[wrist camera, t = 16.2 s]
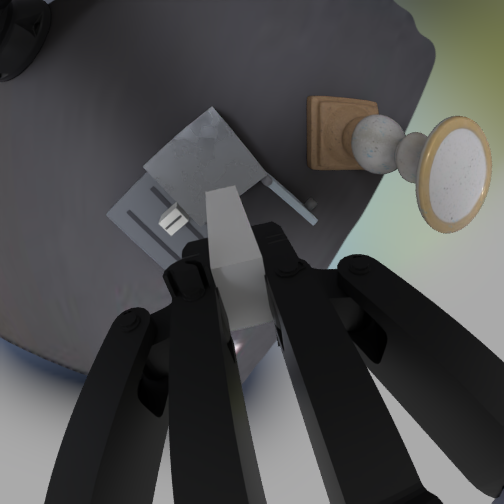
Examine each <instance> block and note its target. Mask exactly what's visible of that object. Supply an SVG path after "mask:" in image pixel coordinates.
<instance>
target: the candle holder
mask: <svg viewBox="0 0 504 504" xmlns="http://www.w3.org/2000/svg"><path fill="white" fill-rule="evenodd" d="M307 166H308V167H309V168H311V169H313V170H366V171H368V172H371V173H374V174H387V173H390V172H393V171H395V170H396V169H398V171H399V173H400V175H401V176H402V178H404V179H405V180H406V181H408V182H411V183H416V197H417V203H418V207H419V210H420V212H421V215H422V217H423V218H424V219H425V221H426V222H427V224H428V225H429V226H430V227H432V228H433V229H434V230H436V231H438V232H441V233H453V232H456V231H458V230H461V229H462V228H464V227H465V226H467V225H468V224H469V223H470V222H471V221H472V220H473V219H474V217H475V216H476V215H477V213H478V212H479V210H480V209H481V207H482V205H483V203H484V201H485V198H486V196H487V193H488V190H489V186H490V181H491V174H492V157H491V151H490V147H489V143H488V141H487V138H486V136H485V134H484V132H483V130H482V129H481V128H480V126H479V125H478V124H477V123H476V122H474V121H473V120H471V119H469V118H467V117H463V116H452V117H449V118H446V119H444V120H443V121H441V122H440V123H439V124H438V125H437V126H436V127H435V128H434V129H433V130H432V132H431V133H430V134H429V136H428V137H427V136H426V135H424V134H422V133H418V132H413V133H410V134H408V135H407V136H406V135H405V133H404V131H403V130H402V128H401V127H400V126H399V124H398V123H397V122H395V121H394V120H393V119H391V118H389V117H387V116H385V115H379V113H378V108H377V103H375V102H372V101H367V100H359V99H351V98H341V97H330V96H308V97H307Z"/></svg>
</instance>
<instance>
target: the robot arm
mask: <svg viewBox="0 0 504 504" xmlns="http://www.w3.org/2000/svg"><path fill="white" fill-rule="evenodd" d="M50 21H51V12H50V8H49V6H48V4H47V3H46V2H45V1H43V0H0V81H7V80H10V79H12V78H14V77H16V76H17V75H18V74H20V73H21V72H22V71H23V70H24V69H25V68H26V67H27V66H28V65H29V64H30V63H31V62H32V60H33V59H34V58H35V56H36V55H37V53H38V52H39V50H40V48H41V47H42V45H43V43H44V41H45V38H46V36H47V33H48V30H49V26H50ZM205 195H206V213H207V228H208V238H204V239H200V240H195V241H191V242H188V243H187V244H186V245H185V247H184V248H183V250H182V259H181V260H179V261H176V262H175V263H173V264H171V265H170V266H169V267H168V268H167V269H166V270H165V272H164V274H163V279H164V281H165V283H166V285H167V288H168V290H169V292H170V294H171V296H172V303H171V304H170V305H168V306H167V307H165V308H163V309H161V310H159V311H157V312H155V313H153V314H151V315H150V314H149V312H148V311H147V310H146V309H144V308H139V307H136V308H131V309H128V310H126V311H124V312H123V313H121V314H120V315H119V316H118V317H117V318H116V319H115V321H114V322H113V324H112V326H111V328H110V330H109V332H108V334H107V336H106V338H105V340H104V342H103V344H102V346H101V348H100V350H99V352H98V354H97V356H96V359H95V361H94V363H93V365H92V367H91V370H90V372H89V374H88V376H87V379H86V381H85V383H84V386H83V388H82V390H81V393H80V395H79V398H78V400H77V402H76V405H75V408H74V410H73V413H72V415H71V418H70V421H69V423H68V426H67V429H66V432H65V435H64V437H63V440H62V443H61V446H60V449H59V452H58V456H57V458H56V462H55V465H54V468H53V472H52V476H51V479H50V483H49V486H48V490H47V494H46V499H45V503H44V504H152V502H153V497H154V491H155V486H156V481H157V476H158V471H159V467H160V462H161V457H162V452H163V448H164V443H165V439H166V434H167V430H168V426H169V441H170V459H171V474H172V486H173V496H174V504H267V503H266V498H265V494H264V490H263V486H262V481H261V477H260V473H259V468H258V464H257V460H256V455H255V450H254V446H253V441H252V436H251V431H250V426H249V421H248V416H247V411H246V406H245V401H244V396H243V392H242V385H241V380H240V375H239V369H238V364H237V358H236V353H235V347H234V342H233V339H232V337H231V334H230V330H231V331H235V330H239V329H244V328H248V327H252V326H256V325H260V324H264V323H268V322H272V321H273V320H274V323H275V329H276V335H277V341H278V346H280V347H281V349H282V353H283V356H284V359H285V362H286V366H287V369H288V372H289V375H290V378H291V381H292V385H293V388H294V391H295V394H296V397H297V400H298V403H299V406H300V410H301V413H302V416H303V419H304V422H305V426H306V429H307V432H308V435H309V438H310V441H311V444H312V448H313V450H314V454H315V457H316V460H317V463H318V466H319V470H320V472H321V476H322V479H323V482H324V485H325V488H326V491H327V495H328V498H329V501H330V504H443V503H442V502H441V500H440V499H439V498H438V497H437V496H435V495H434V494H432V493H430V492H429V491H427V490H426V489H425V487H424V486H423V485H422V483H421V481H420V478H419V476H418V474H417V471H416V469H415V467H414V465H413V462H412V460H411V458H410V456H409V454H408V451H407V449H406V447H405V445H404V442H403V440H402V438H401V436H400V434H399V432H398V429H397V428H396V426H395V424H394V421H393V419H392V417H391V415H390V413H389V411H388V409H387V407H386V405H385V403H384V401H383V399H382V397H381V395H380V393H379V391H378V389H377V387H376V385H375V383H374V381H373V379H372V377H371V375H370V373H369V371H368V369H369V370H370V371H371V372H372V373H373V374H374V375H375V376H376V378H377V379H378V380H379V381H380V382H381V383H382V384H383V385H384V386H385V387H386V388H387V390H388V391H389V392H390V393H391V394H392V395H393V396H394V397H395V399H396V400H397V401H398V402H399V403H400V404H401V405H402V406H403V407H404V409H405V410H406V411H407V412H408V413H409V414H410V415H411V416H412V417H413V418H414V420H415V421H416V422H417V423H418V424H419V425H420V426H421V428H422V429H423V430H424V431H425V432H426V433H427V434H428V435H429V436H430V438H431V439H432V440H433V441H434V442H435V443H436V444H437V445H438V447H439V448H440V449H441V450H442V451H443V452H444V453H445V454H446V456H447V457H448V458H449V459H450V460H451V461H452V462H453V463H454V465H455V466H456V467H457V468H458V469H459V470H460V471H461V472H462V473H463V475H464V476H465V477H466V478H467V479H468V480H469V481H470V482H471V483H472V484H473V485H474V486H475V487H476V488H477V489H479V490H480V491H481V492H483V493H484V494H486V495H488V496H491V497H493V498H495V500H494V501H493V502H492V504H504V362H503V361H502V360H501V359H499V357H497V356H496V355H495V354H494V353H493V352H492V351H491V350H490V349H488V348H487V347H486V346H485V345H484V344H483V343H482V342H481V341H479V340H478V339H477V338H476V337H475V336H474V335H473V334H471V333H470V332H469V331H468V330H467V329H466V328H464V327H463V326H462V325H461V324H459V323H458V322H457V321H456V320H455V319H453V318H452V317H451V316H450V315H449V314H447V313H446V312H445V311H444V310H442V309H441V308H440V307H439V306H437V305H436V304H435V303H434V302H432V301H431V300H430V299H428V298H427V297H426V296H424V295H423V294H422V293H421V292H419V291H418V290H417V289H415V288H414V287H412V286H411V285H410V284H409V283H407V282H406V281H405V280H403V279H402V278H400V277H399V276H398V275H397V274H395V273H394V272H392V271H391V270H390V269H388V268H387V267H386V266H384V265H383V264H381V263H380V262H379V261H377V260H375V259H374V258H372V257H369V256H367V255H362V254H354V255H349V256H347V257H344V258H343V259H341V260H340V262H339V263H338V265H337V269H315V268H311V266H310V265H309V264H308V263H307V262H306V261H305V260H302V259H300V258H298V256H297V254H296V252H295V251H294V249H293V247H292V245H291V244H290V242H289V240H288V239H287V237H286V235H285V234H284V232H283V230H282V228H281V226H279V225H277V224H276V223H274V222H268V223H263V224H259V225H255V226H250V223H249V221H248V218H247V215H246V213H245V210H244V208H243V205H242V202H241V200H240V197H239V194H238V192H237V189H236V187H235V185H234V186H230V187H225V188H221V189H217V190H212V191H208V192H205ZM367 368H368V369H367Z"/></svg>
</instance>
